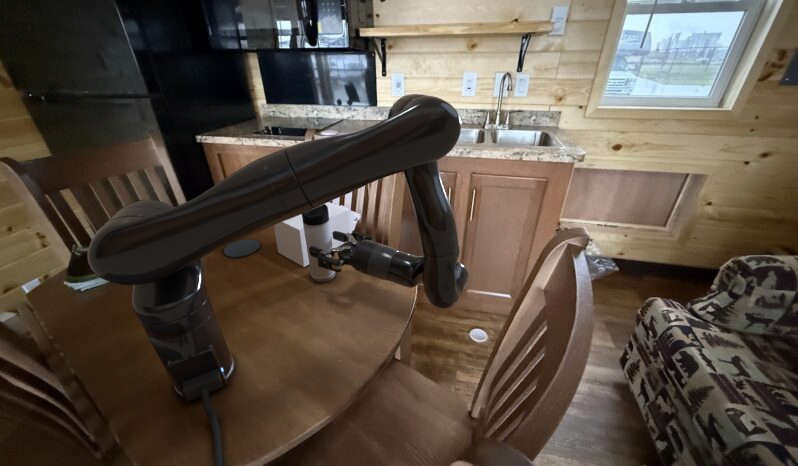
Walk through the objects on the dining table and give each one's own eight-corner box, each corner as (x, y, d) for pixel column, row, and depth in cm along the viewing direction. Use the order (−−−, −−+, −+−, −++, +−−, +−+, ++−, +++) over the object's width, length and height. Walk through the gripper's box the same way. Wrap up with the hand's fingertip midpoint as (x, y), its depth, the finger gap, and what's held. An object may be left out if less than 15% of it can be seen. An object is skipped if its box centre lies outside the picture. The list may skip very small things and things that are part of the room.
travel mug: (338, 268, 86) (331, 202, 76) (331, 283, 81) (322, 213, 71) (316, 266, 87) (307, 200, 77) (307, 281, 81) (296, 212, 71)
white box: (304, 267, 87) (367, 233, 105) (299, 230, 81) (367, 202, 100) (278, 252, 93) (342, 223, 112) (272, 217, 88) (340, 193, 106)
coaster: (263, 251, 93) (262, 250, 93) (225, 261, 89) (225, 260, 88) (257, 237, 101) (256, 236, 100) (222, 245, 96) (222, 244, 96)
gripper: (393, 232, 74) (339, 217, 81) (359, 262, 63) (299, 242, 70) (393, 258, 78) (341, 242, 85) (361, 291, 67) (303, 269, 74)
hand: (322, 242), depth 77 cm, fingers open, 8 cm apart
